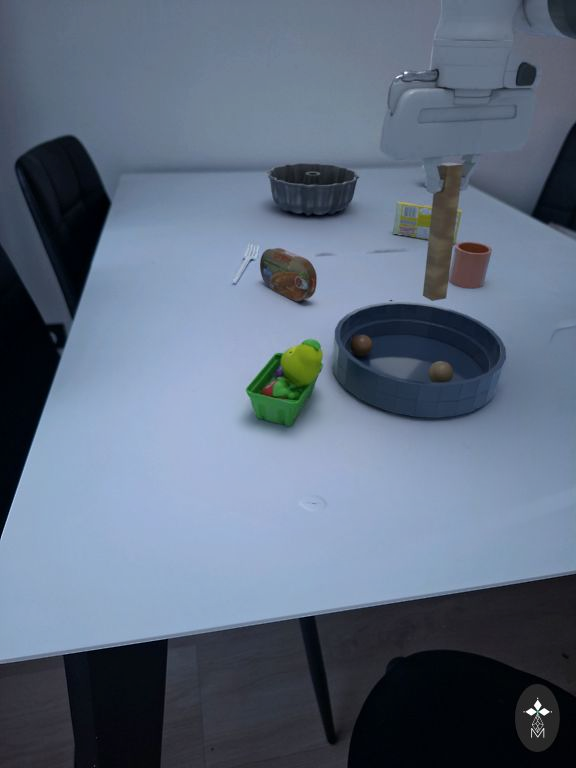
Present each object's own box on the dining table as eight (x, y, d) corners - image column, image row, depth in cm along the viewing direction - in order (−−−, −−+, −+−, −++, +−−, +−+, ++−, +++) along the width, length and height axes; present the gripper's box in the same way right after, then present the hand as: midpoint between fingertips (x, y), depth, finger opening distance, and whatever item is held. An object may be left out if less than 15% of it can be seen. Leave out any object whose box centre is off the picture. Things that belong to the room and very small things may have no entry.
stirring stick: (436, 293, 78) (451, 162, 70) (446, 298, 77) (463, 164, 68) (422, 295, 78) (436, 163, 69) (432, 301, 76) (447, 165, 67)
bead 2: (439, 369, 83) (458, 362, 80) (439, 390, 82) (458, 384, 79) (423, 361, 81) (442, 354, 79) (423, 382, 80) (442, 376, 77)
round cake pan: (433, 323, 99) (439, 293, 95) (532, 399, 79) (544, 365, 76) (307, 346, 91) (308, 314, 87) (382, 437, 71) (388, 401, 68)
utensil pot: (468, 275, 118) (476, 240, 114) (490, 288, 113) (499, 251, 108) (441, 279, 116) (448, 244, 111) (462, 292, 110) (470, 255, 106)
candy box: (456, 242, 136) (462, 209, 131) (454, 244, 135) (461, 211, 130) (394, 232, 142) (398, 200, 137) (392, 234, 140) (396, 202, 135)
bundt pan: (329, 227, 144) (332, 189, 138) (249, 210, 155) (249, 174, 149) (370, 205, 162) (373, 170, 157) (296, 191, 174) (297, 159, 168)
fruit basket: (275, 379, 82) (276, 313, 76) (330, 392, 79) (336, 325, 73) (244, 421, 73) (242, 350, 67) (304, 437, 71) (308, 365, 64)
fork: (226, 284, 111) (226, 275, 110) (247, 251, 128) (247, 243, 127) (241, 285, 111) (241, 277, 110) (260, 252, 127) (260, 244, 126)
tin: (258, 283, 112) (258, 244, 107) (270, 279, 114) (270, 241, 109) (306, 308, 103) (308, 266, 98) (318, 303, 104) (320, 262, 100)
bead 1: (352, 330, 87) (359, 347, 90) (344, 344, 85) (351, 361, 87) (371, 329, 85) (378, 346, 87) (364, 344, 83) (371, 361, 85)
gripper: (406, 72, 57) (390, 204, 64) (554, 70, 63) (523, 190, 71) (376, 68, 61) (365, 191, 69) (517, 66, 68) (492, 179, 76)
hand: (446, 191), depth 70 cm, fingers closed on stirring stick, 2 cm apart
